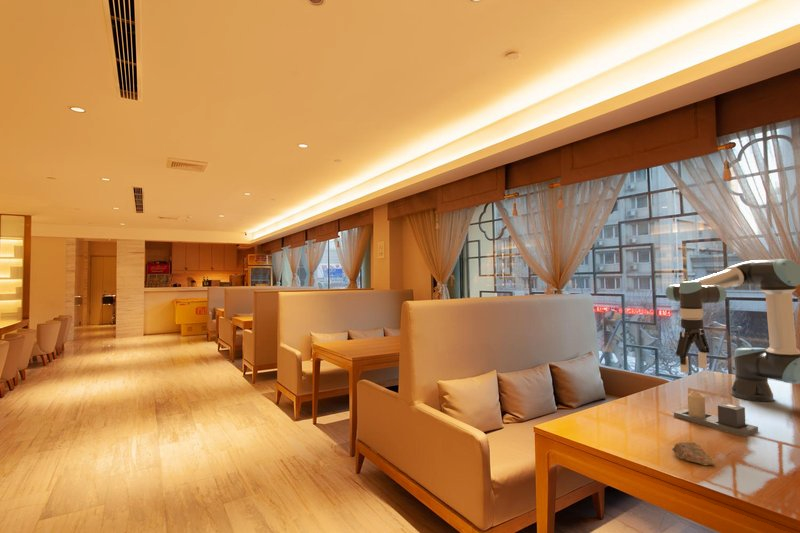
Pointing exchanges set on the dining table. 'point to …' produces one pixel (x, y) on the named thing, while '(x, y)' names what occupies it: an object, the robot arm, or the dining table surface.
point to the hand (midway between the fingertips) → (693, 370)
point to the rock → (692, 453)
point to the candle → (696, 405)
